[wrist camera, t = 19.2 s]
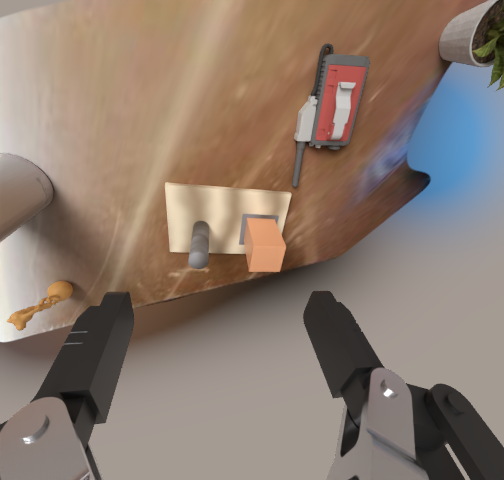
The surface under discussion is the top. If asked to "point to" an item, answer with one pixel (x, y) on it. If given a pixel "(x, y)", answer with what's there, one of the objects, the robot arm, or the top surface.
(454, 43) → the house plant
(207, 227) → the post stand
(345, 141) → the walkie-talkie
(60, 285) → the figurine
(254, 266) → the tall salmon pillar
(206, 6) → the top surface
